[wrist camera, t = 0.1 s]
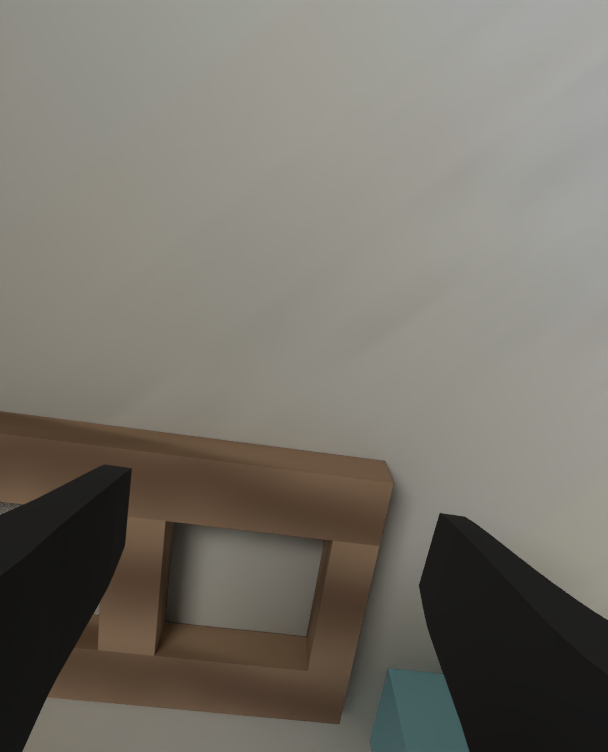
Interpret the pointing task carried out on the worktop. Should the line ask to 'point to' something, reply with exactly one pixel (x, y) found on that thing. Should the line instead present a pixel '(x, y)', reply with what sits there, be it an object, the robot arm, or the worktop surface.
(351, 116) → the worktop surface
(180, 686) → the walnut frame
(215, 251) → the worktop surface
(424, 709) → the teal block
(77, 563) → the robot arm
